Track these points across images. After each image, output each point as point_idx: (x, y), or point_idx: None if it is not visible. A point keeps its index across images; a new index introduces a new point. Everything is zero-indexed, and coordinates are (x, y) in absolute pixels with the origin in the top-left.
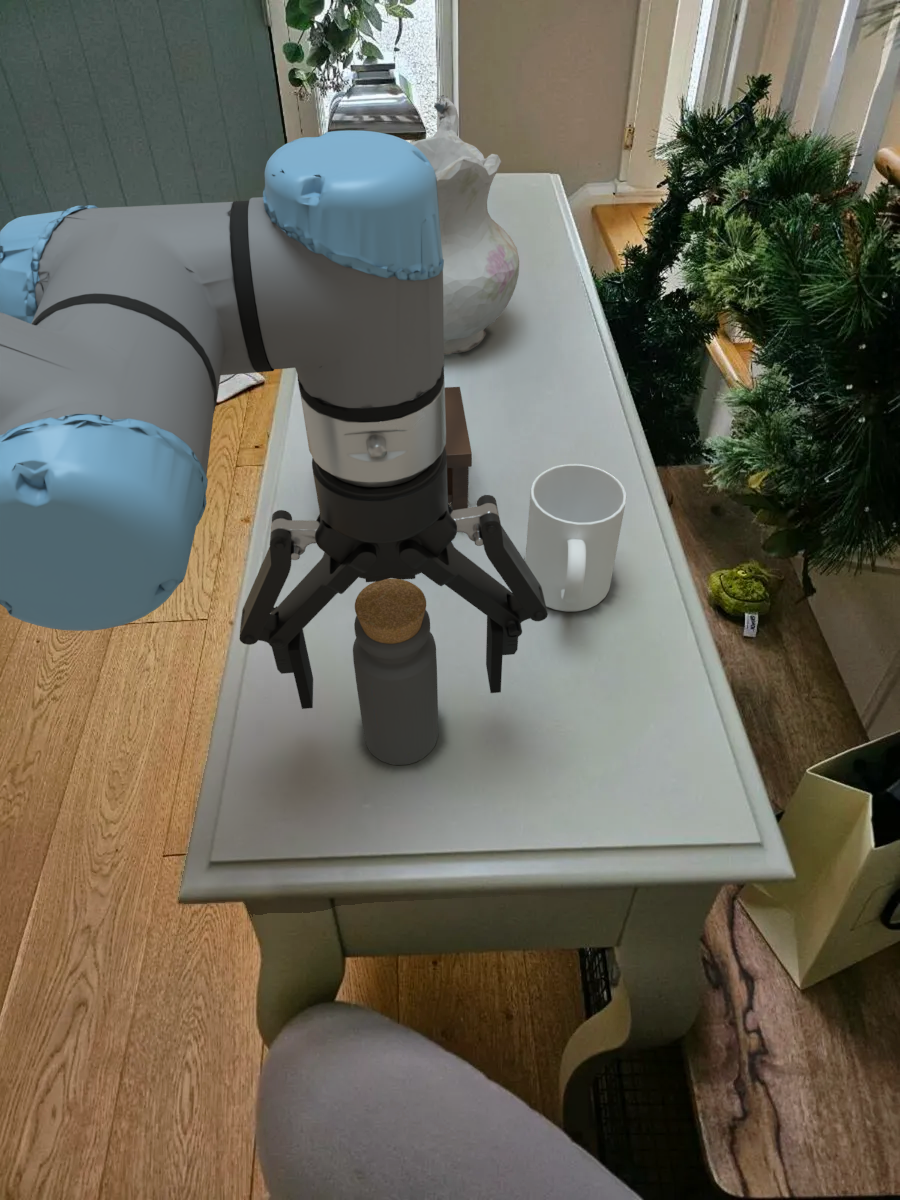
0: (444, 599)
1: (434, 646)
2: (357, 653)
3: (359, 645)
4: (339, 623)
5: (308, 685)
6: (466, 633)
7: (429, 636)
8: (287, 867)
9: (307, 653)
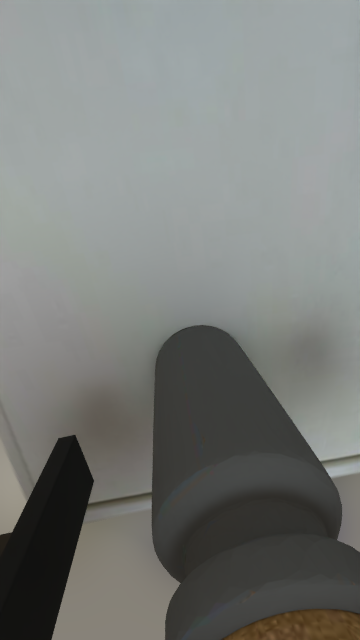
0: (238, 96)
1: (341, 518)
2: (170, 573)
3: (172, 565)
4: (66, 180)
5: (78, 521)
6: (276, 182)
7: (336, 512)
8: (117, 505)
9: (49, 505)
